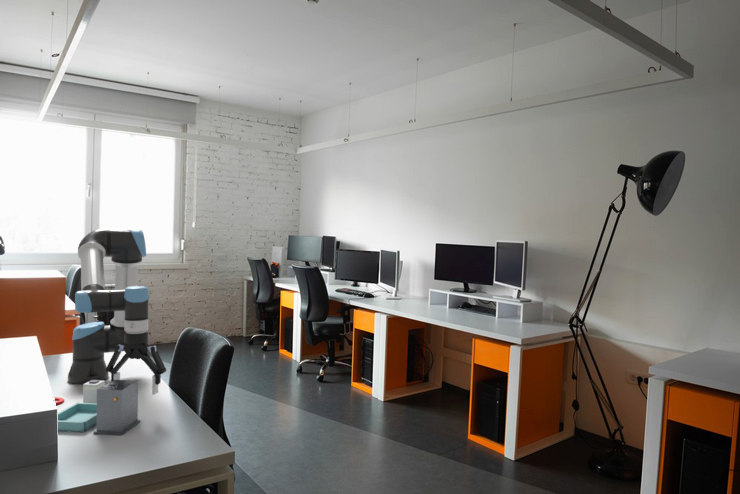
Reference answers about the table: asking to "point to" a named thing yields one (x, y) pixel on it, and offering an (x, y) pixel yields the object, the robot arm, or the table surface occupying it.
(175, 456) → the table surface
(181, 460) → the table surface
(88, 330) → the robot arm
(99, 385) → the white tall square block
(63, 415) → the parts tray
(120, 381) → the controller unit
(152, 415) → the table surface
